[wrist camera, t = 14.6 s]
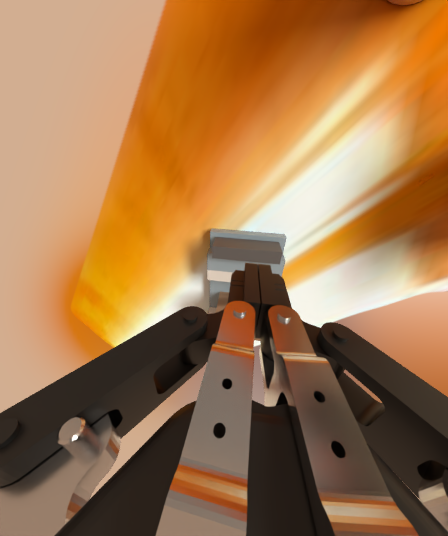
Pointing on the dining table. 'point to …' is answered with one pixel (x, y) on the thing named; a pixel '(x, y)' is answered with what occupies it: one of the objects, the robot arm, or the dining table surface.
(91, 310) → the dining table surface
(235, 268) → the vise jaw
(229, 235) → the vise
